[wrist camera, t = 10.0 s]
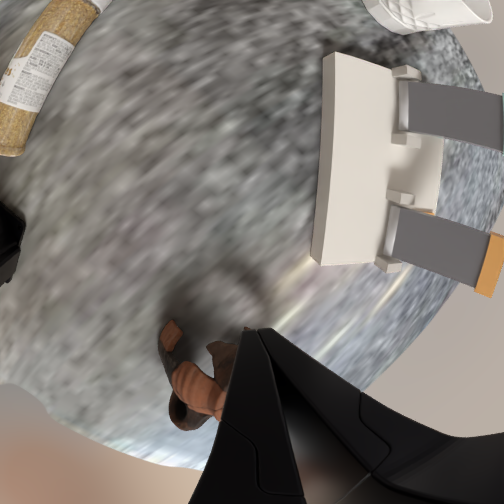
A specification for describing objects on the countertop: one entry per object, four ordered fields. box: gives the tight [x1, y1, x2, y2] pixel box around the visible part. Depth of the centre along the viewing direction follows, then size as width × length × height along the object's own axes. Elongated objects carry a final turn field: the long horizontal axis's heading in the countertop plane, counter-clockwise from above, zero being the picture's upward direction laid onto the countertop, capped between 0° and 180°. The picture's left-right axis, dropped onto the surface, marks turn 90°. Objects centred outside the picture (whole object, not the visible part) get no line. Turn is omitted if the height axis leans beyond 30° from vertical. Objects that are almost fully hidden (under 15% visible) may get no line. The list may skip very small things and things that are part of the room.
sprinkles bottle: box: [0, 0, 112, 157], centre depth 10 cm, size 5×5×14 cm
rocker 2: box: [383, 204, 504, 298], centre depth 17 cm, size 1×4×10 cm
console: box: [310, 52, 444, 273], centre depth 19 cm, size 12×16×4 cm
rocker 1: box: [399, 81, 504, 156], centre depth 13 cm, size 1×4×10 cm, turn 178°
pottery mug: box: [158, 320, 252, 431], centre depth 22 cm, size 12×10×8 cm
